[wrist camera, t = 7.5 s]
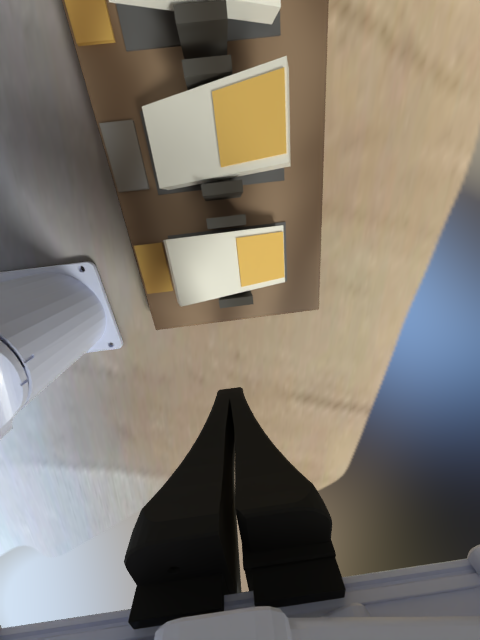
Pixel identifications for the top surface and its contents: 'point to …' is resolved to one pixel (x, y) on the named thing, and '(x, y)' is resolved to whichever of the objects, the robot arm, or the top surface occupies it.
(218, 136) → the rocker middle
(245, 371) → the top surface
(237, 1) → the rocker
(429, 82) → the top surface
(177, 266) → the block
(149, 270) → the switch panel
